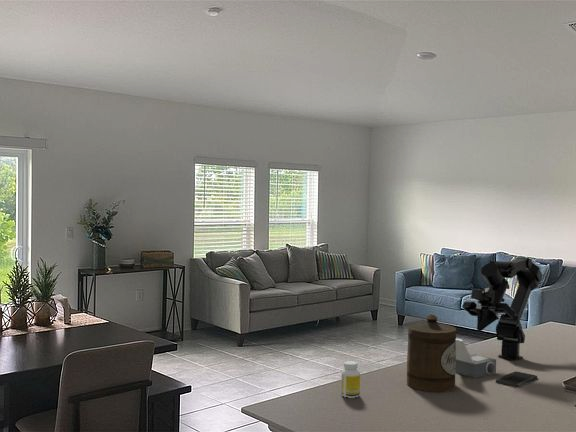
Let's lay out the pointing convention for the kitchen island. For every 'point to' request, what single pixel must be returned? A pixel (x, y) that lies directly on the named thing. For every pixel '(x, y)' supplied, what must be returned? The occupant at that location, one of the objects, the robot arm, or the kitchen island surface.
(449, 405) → the kitchen island surface
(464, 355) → the side door
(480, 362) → the camera case
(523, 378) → the phone
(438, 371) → the wooden container
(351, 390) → the supplement bottle
